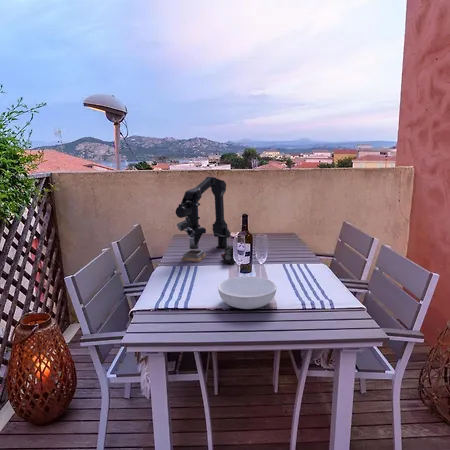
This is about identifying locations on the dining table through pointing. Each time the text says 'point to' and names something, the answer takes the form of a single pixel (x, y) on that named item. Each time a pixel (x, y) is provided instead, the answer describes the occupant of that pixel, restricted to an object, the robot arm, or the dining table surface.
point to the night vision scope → (228, 255)
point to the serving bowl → (247, 291)
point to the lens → (192, 243)
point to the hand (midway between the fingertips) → (193, 244)
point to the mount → (193, 255)
